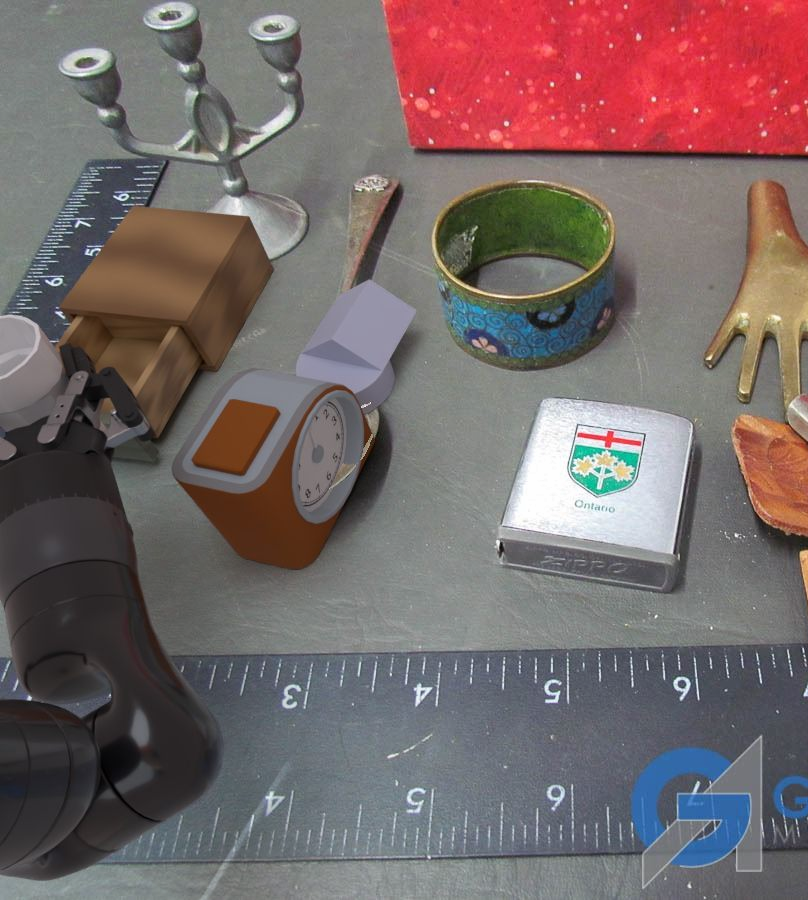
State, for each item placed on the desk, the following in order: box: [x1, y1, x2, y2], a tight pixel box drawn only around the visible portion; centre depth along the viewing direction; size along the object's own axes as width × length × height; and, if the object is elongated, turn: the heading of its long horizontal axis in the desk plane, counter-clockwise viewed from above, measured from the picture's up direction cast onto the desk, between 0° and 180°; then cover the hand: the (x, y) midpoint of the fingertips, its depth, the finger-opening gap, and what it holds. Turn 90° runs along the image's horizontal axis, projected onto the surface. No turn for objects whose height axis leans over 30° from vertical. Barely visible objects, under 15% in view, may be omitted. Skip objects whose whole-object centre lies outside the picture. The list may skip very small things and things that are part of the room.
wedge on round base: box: [295, 279, 418, 415], centre depth 83 cm, size 9×7×13 cm
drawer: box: [54, 315, 203, 463], centre depth 80 cm, size 16×12×6 cm
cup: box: [0, 314, 107, 432], centre depth 60 cm, size 7×7×11 cm
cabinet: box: [58, 205, 275, 372], centre depth 88 cm, size 16×14×8 cm
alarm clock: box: [171, 367, 376, 570], centre depth 71 cm, size 15×8×14 cm, turn 166°
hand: (23, 370), depth 60 cm, fingers closed on cup, 6 cm apart
